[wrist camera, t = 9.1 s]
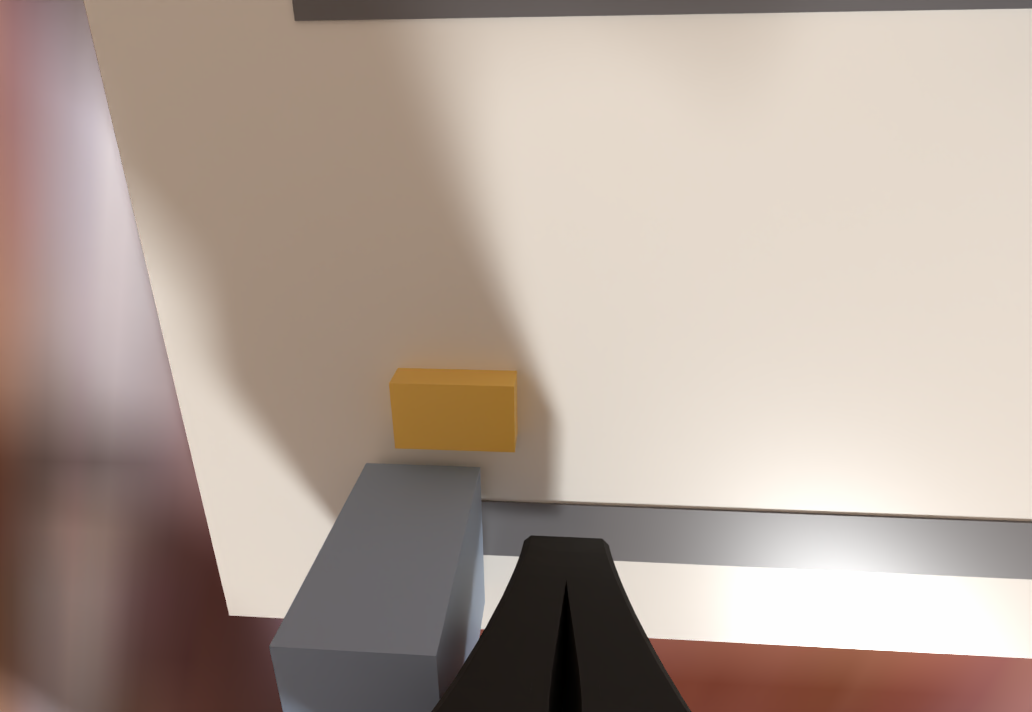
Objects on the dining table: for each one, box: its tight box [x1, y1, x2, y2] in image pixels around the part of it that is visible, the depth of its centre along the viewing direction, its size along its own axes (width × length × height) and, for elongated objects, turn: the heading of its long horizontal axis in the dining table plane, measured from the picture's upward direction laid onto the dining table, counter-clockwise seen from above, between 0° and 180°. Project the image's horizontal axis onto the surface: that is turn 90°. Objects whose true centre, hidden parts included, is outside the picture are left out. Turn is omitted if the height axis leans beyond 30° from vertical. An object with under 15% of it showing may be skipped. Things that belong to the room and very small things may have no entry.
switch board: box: [83, 0, 1032, 658], centre depth 10 cm, size 15×21×3 cm
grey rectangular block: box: [269, 463, 485, 712], centre depth 10 cm, size 3×2×4 cm, turn 1°
